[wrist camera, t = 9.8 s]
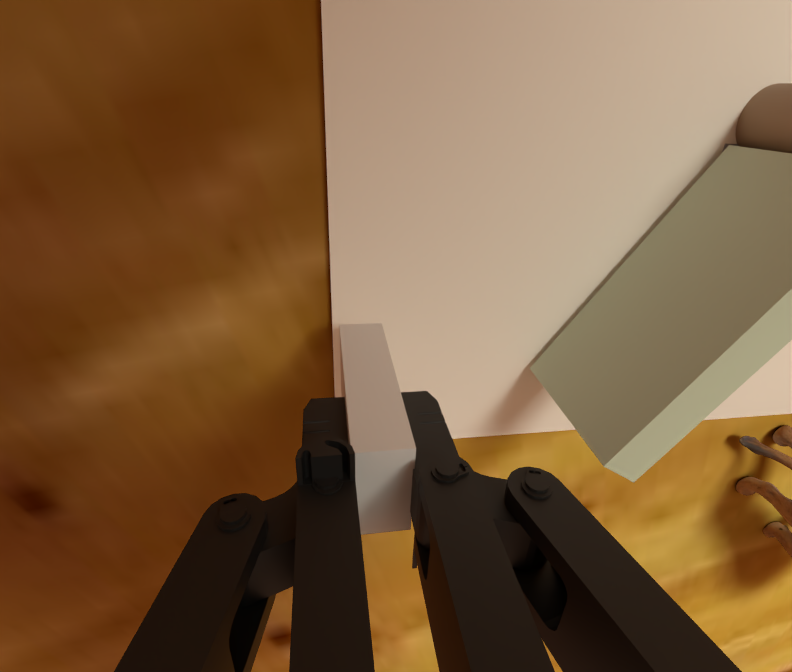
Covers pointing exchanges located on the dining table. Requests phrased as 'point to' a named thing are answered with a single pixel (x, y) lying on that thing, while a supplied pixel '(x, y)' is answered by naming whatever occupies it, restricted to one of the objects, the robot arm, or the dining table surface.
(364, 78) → the card
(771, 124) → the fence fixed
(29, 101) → the dining table surface
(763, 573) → the dining table surface
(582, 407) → the fence panel
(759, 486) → the lion figurine
